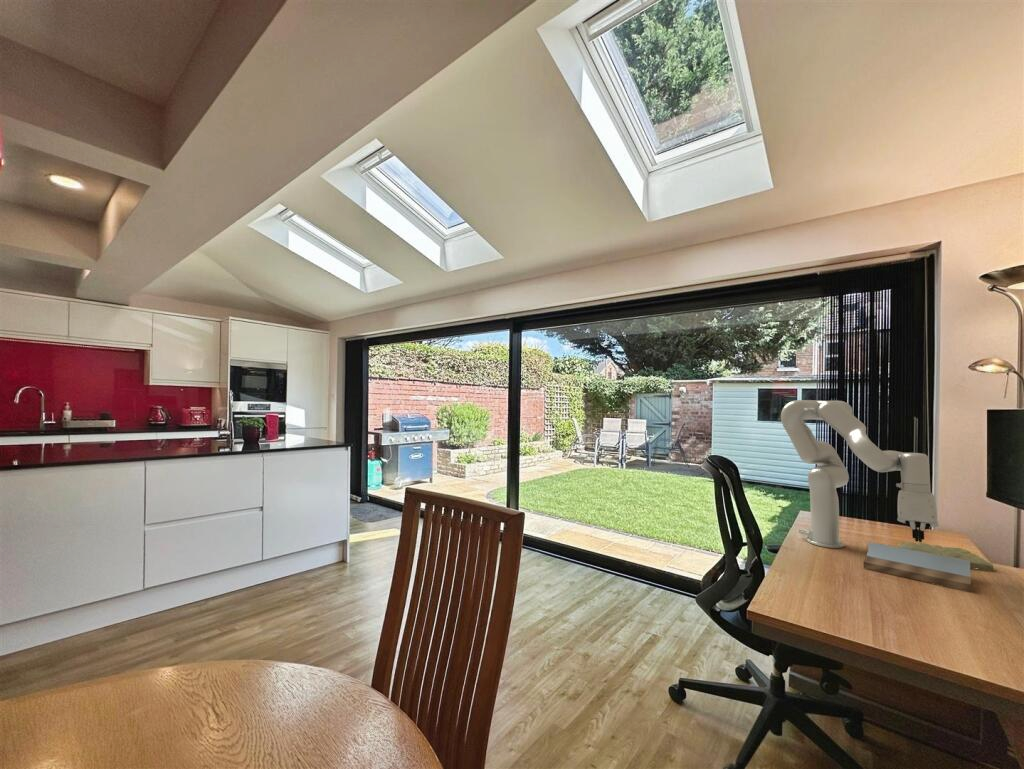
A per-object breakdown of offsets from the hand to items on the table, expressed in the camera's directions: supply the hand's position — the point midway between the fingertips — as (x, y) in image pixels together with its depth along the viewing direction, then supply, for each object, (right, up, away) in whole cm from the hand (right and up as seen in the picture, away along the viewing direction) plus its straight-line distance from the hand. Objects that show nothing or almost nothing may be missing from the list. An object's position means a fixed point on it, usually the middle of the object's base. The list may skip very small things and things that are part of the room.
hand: (918, 540), depth 153 cm
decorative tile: (+18, -11, +10) cm, 23 cm away
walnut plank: (-8, -9, -7) cm, 14 cm away
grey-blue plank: (-1, -7, -1) cm, 8 cm away
